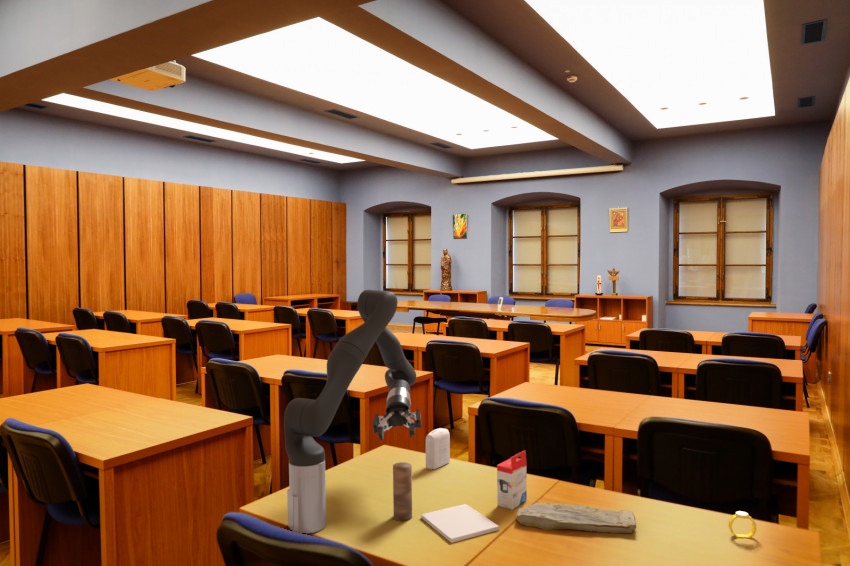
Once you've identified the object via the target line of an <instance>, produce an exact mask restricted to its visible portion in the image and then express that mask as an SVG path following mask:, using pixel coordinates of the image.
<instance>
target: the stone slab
mask: <svg viewBox="0 0 850 566" xmlns="http://www.w3.org/2000/svg"><path fill="white" fill-rule="evenodd" d="M516 520H517V521H518V523H520V524H521V525H522V526H525V527H526V526H527V527H536V528H539V529H541V530H547V531H548V530H549V531H551V530H552V531H553V530H554V531H555V530H561V529H562V530H564V529H565V530H566V529H568V530H569V529H570V530H575V531H586V532H592V531H597V532H596V533H607V532H612V533H611V534H620V532H621V533H623V534H632V533H633V531H635V530H636V528H637V522H636V516H635V514H634V512H633V511H630V510H611V509H610V510H608V509H603V508H602V509H601V508H597V507H592V506H588V505H582V504H581V505H579V504H568V503H550V502H545V503H544V502H536V503H531V505H528V506H525V507H521V508H518V509H517V513H516Z"/></svg>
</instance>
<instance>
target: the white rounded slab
mask: <svg viewBox="0 0 850 566" xmlns="http://www.w3.org/2000/svg"><path fill="white" fill-rule="evenodd" d="M450 434H451V433H450V432H449V429H447V428H442V427H439V428H436V429H435V428H434V429H433V430H432V431H430V432H429V433H428V434H427V435H426V436H425V467H426V468H427V470H432V469H433V470H436V469H439V468H441V467H442V466H445V465H447V464H449V463H450V462H451V456H450V455H451V452H450V451H451V450H450V448H451V447H450V446H451V445H450V444H451V443H450V441H451V439H450V438H451V436H450Z"/></svg>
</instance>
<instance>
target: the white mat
mask: <svg viewBox="0 0 850 566" xmlns="http://www.w3.org/2000/svg"><path fill="white" fill-rule="evenodd" d="M420 519H422V520H423V521H424V522H425V523H426V524H427V525H429V526H430V527H432V528H433V529H434V530H435V531H436V532H437V533H438V534H440V535H441V536H442V537H443V538H444V539H446V540H447V541H448V542H449V543H451V544H452V543H456V542H457V543H458V542H460V541H464V540H468V539H471V538H475V537H479V536H482V535H486V534H489V533H493V532H497V531H499V530H500V527H499V525H498V524H497V523H495V522H494V521H492V520H490V519H489V518H487V517H486V516H485V515H483V514H482V513H480V512H479V511H477V510H475V509H474V508H472V507H471V505H470V506H469V505H468V504H466V503H464V504H460V505H455V506H451V507H450V506H449V507H446V508H442V509H438V510H434V511H429V512H426V513H421V514H420Z"/></svg>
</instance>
